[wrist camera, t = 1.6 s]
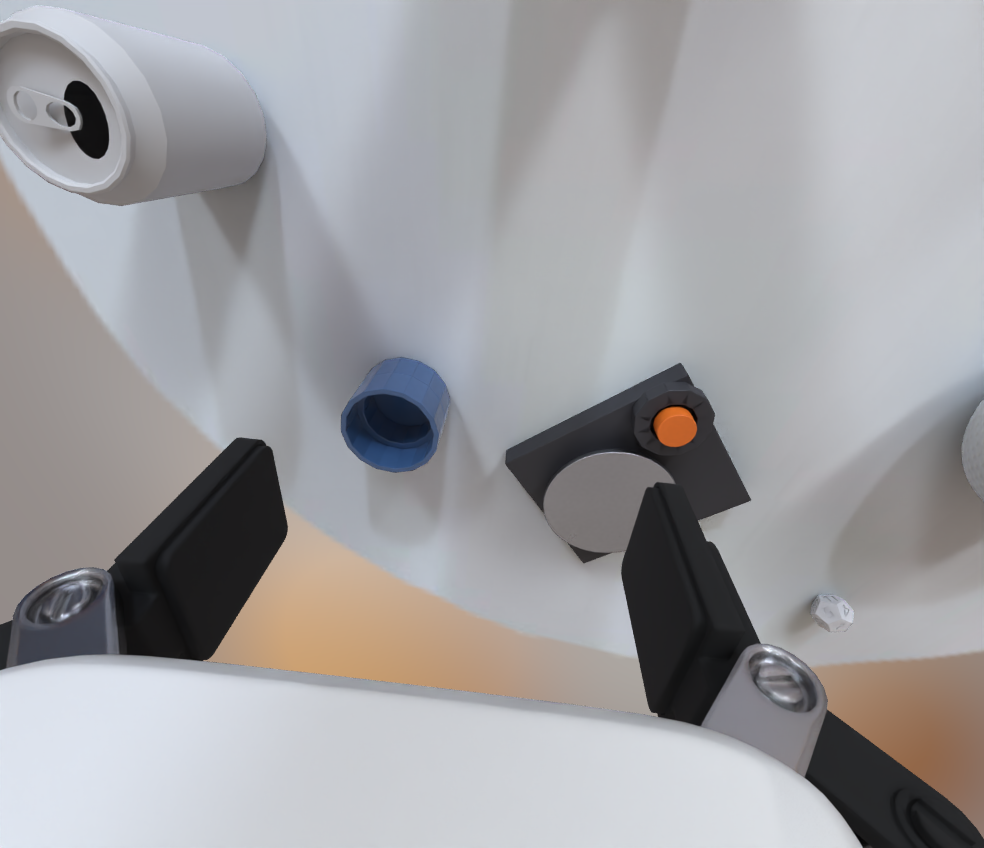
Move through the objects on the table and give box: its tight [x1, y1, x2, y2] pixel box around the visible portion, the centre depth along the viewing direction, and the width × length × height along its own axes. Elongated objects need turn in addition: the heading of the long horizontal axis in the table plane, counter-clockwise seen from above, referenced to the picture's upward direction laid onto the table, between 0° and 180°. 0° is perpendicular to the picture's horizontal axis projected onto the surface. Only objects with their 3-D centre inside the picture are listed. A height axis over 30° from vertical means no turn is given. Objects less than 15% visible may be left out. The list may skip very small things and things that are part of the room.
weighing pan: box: [543, 449, 675, 553], centre depth 39 cm, size 11×11×1 cm
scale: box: [505, 363, 751, 563], centre depth 40 cm, size 16×14×4 cm
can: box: [0, 5, 267, 206], centre depth 25 cm, size 8×8×12 cm
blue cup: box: [341, 357, 450, 473], centre depth 37 cm, size 7×7×6 cm
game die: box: [810, 594, 854, 632], centre depth 47 cm, size 4×4×3 cm
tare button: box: [653, 406, 697, 447], centre depth 35 cm, size 3×3×1 cm
